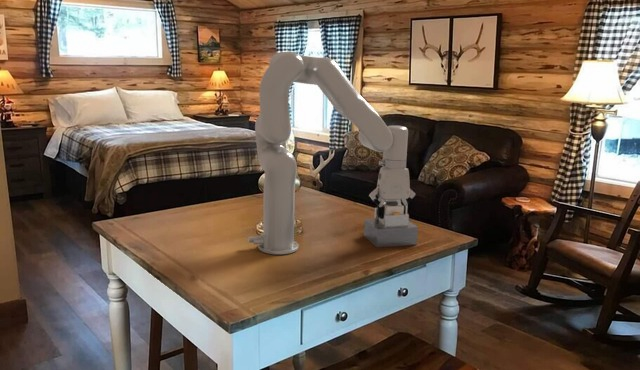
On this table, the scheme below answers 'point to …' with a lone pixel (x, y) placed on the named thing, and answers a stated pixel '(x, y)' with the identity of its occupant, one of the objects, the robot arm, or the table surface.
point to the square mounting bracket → (391, 230)
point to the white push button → (391, 208)
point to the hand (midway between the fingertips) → (391, 216)
